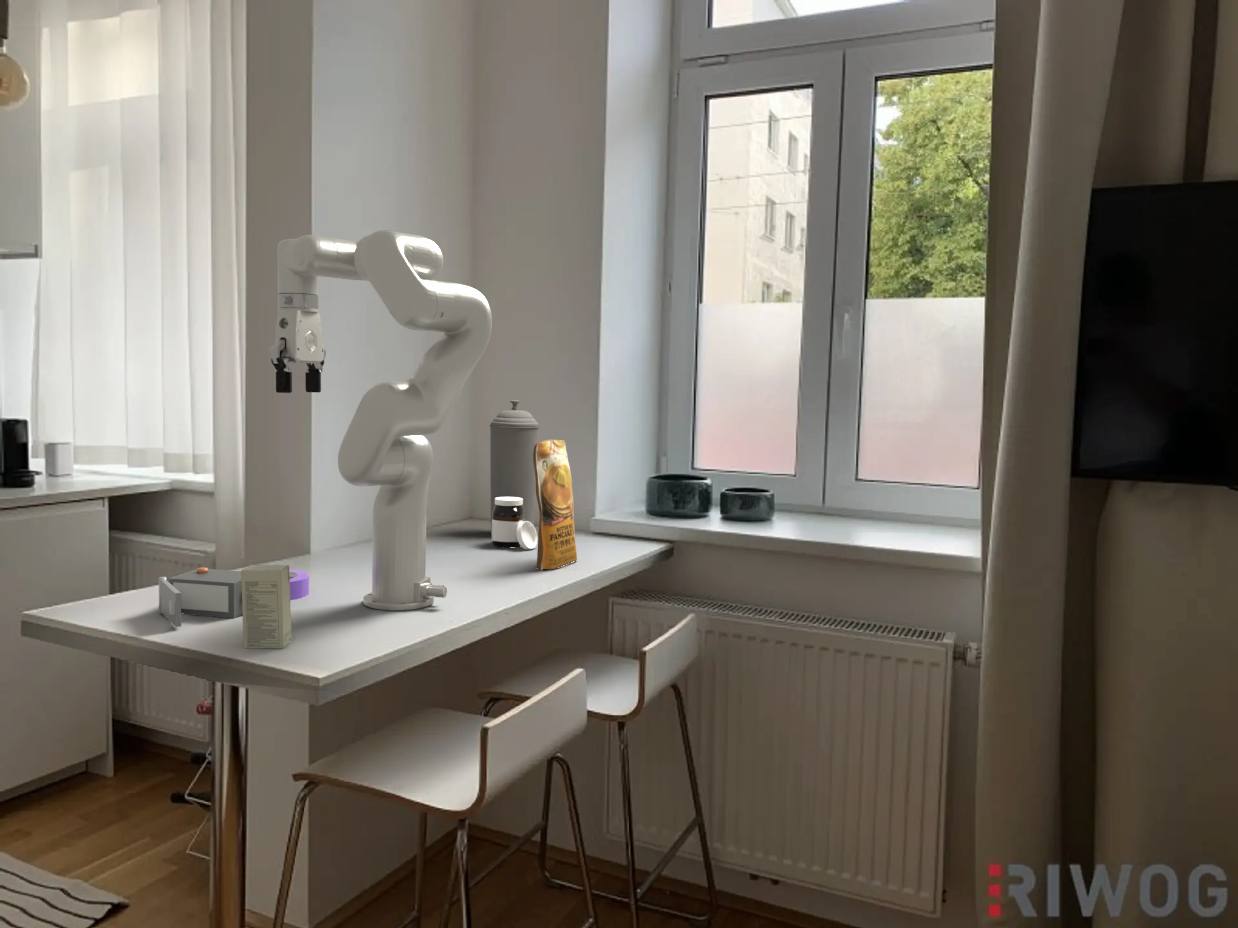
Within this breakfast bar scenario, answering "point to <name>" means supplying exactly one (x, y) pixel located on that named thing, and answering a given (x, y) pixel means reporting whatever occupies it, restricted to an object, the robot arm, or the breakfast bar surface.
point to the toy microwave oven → (210, 592)
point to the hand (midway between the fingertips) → (299, 392)
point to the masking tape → (298, 584)
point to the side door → (169, 602)
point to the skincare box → (266, 606)
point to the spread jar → (511, 525)
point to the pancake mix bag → (554, 505)
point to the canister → (513, 458)
